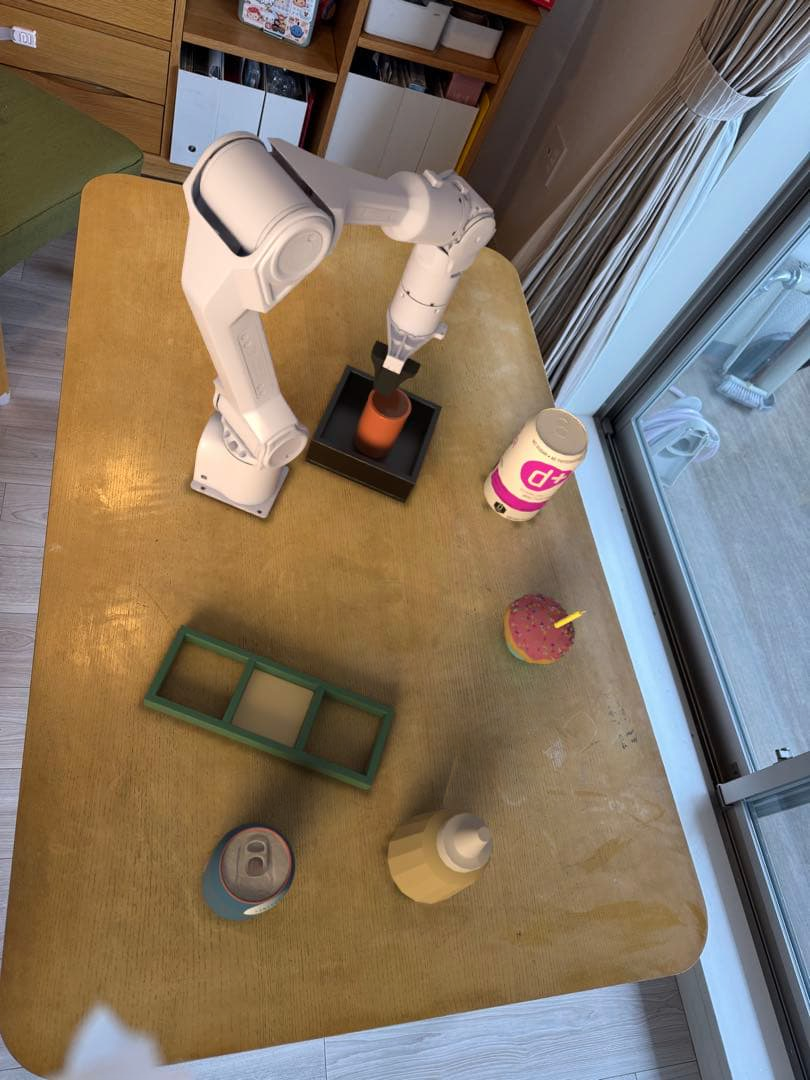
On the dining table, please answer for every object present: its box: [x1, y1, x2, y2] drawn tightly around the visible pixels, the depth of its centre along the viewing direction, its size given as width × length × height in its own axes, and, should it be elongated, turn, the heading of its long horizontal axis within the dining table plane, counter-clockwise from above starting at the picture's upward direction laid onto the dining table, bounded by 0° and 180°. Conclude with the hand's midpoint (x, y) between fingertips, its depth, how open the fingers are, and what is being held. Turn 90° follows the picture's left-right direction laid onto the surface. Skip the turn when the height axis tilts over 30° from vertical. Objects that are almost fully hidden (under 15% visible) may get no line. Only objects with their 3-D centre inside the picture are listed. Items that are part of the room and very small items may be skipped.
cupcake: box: [503, 593, 588, 665], centre depth 88 cm, size 9×8×12 cm
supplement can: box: [483, 407, 590, 522], centre depth 97 cm, size 8×8×15 cm
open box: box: [304, 363, 443, 504], centre depth 99 cm, size 14×14×5 cm
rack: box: [143, 624, 396, 791], centre depth 79 cm, size 8×24×2 cm, turn 73°
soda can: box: [200, 822, 296, 922], centre depth 67 cm, size 7×7×12 cm
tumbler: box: [353, 388, 411, 458], centre depth 97 cm, size 5×5×8 cm
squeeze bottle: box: [386, 806, 494, 905], centre depth 70 cm, size 8×8×18 cm
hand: (391, 370), depth 94 cm, fingers open, 7 cm apart
